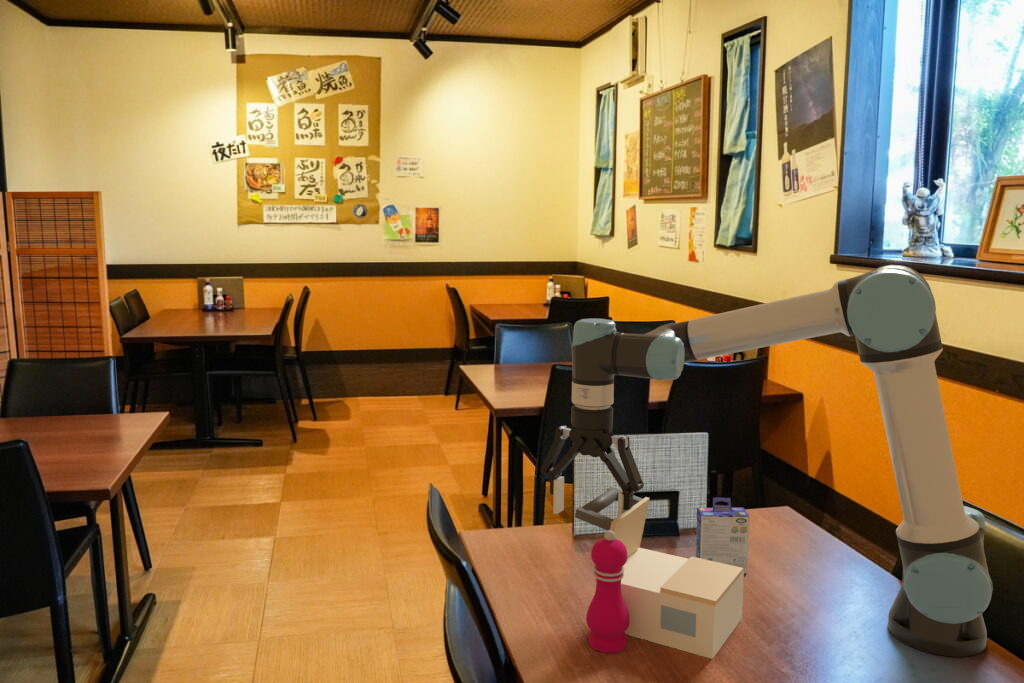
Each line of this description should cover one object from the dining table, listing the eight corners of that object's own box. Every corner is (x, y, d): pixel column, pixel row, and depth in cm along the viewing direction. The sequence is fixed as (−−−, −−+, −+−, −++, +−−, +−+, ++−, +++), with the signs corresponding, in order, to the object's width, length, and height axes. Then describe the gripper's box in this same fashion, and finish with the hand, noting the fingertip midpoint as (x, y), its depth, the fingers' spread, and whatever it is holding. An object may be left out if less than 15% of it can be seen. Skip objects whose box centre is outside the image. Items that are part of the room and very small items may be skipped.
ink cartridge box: (741, 563, 175) (744, 495, 172) (748, 574, 169) (751, 505, 167) (693, 562, 175) (696, 495, 173) (699, 574, 169) (701, 505, 167)
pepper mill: (601, 629, 147) (603, 519, 144) (637, 642, 143) (640, 529, 140) (577, 645, 142) (579, 531, 139) (614, 659, 137) (616, 542, 134)
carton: (741, 618, 151) (744, 566, 149) (712, 659, 137) (714, 602, 136) (637, 592, 161) (639, 543, 160) (600, 627, 148) (601, 574, 146)
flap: (649, 498, 157) (612, 484, 161) (615, 523, 144) (575, 507, 148) (639, 546, 159) (603, 531, 163) (605, 575, 147) (566, 558, 150)
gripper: (523, 400, 155) (522, 511, 159) (648, 418, 143) (644, 539, 146) (543, 392, 162) (541, 500, 165) (664, 409, 149) (660, 525, 152)
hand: (589, 518), depth 156 cm, fingers open, 12 cm apart
